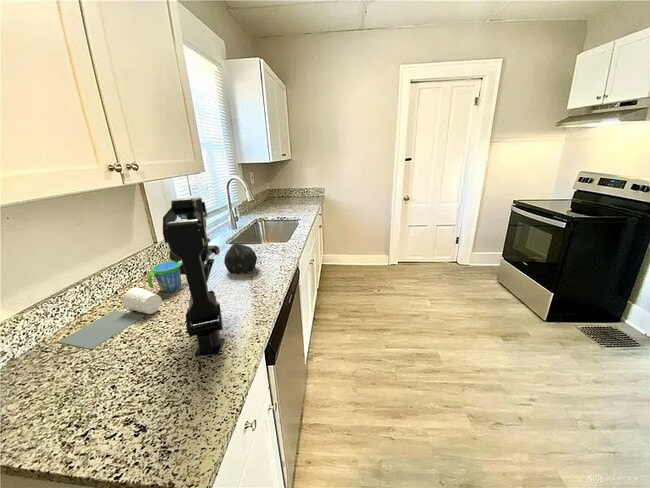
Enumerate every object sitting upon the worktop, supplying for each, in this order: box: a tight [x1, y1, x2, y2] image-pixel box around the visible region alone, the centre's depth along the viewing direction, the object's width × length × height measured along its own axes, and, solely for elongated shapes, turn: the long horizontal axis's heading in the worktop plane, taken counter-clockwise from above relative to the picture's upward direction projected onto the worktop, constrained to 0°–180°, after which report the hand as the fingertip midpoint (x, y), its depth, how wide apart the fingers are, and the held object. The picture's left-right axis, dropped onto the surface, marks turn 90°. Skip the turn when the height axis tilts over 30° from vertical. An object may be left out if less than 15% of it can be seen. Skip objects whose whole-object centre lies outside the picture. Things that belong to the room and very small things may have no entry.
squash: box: [223, 243, 258, 275], centre depth 130 cm, size 14×15×15 cm
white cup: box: [121, 287, 162, 315], centre depth 99 cm, size 8×8×10 cm
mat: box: [57, 310, 146, 350], centre depth 90 cm, size 14×18×1 cm
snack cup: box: [147, 260, 183, 292], centre depth 115 cm, size 16×10×10 cm
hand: (205, 282), depth 93 cm, fingers closed
